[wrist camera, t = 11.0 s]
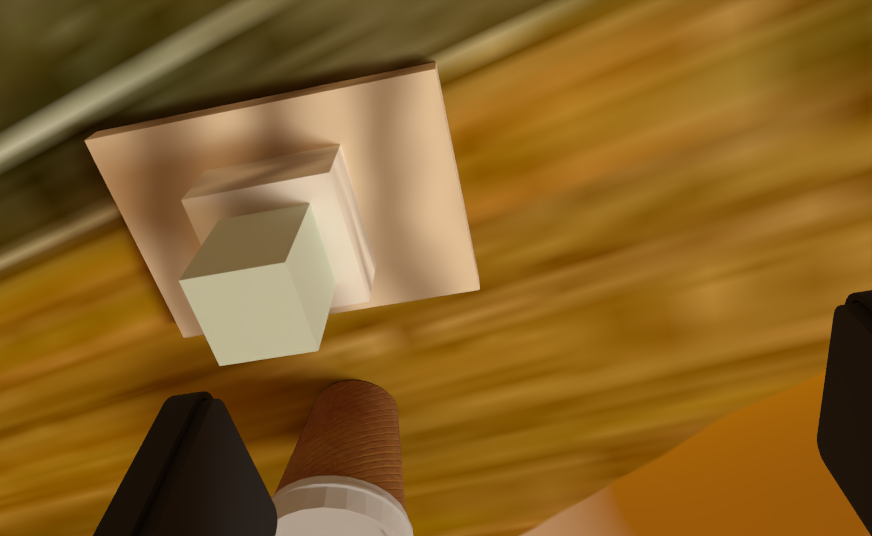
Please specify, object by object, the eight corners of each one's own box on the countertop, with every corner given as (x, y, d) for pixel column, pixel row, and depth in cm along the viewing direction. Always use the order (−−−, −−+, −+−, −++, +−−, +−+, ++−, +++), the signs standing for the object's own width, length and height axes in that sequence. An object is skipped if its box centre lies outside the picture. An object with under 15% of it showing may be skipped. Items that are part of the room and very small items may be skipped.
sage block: (309, 203, 33) (285, 262, 28) (336, 283, 36) (318, 350, 31) (218, 219, 34) (178, 280, 29) (251, 297, 37) (219, 366, 31)
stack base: (435, 61, 35) (434, 90, 30) (478, 277, 42) (483, 327, 37) (96, 131, 37) (46, 168, 33) (191, 324, 44) (161, 377, 40)
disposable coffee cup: (350, 340, 45) (321, 477, 35) (446, 413, 48) (445, 557, 38) (266, 410, 48) (218, 553, 38) (361, 474, 52) (340, 621, 42)
